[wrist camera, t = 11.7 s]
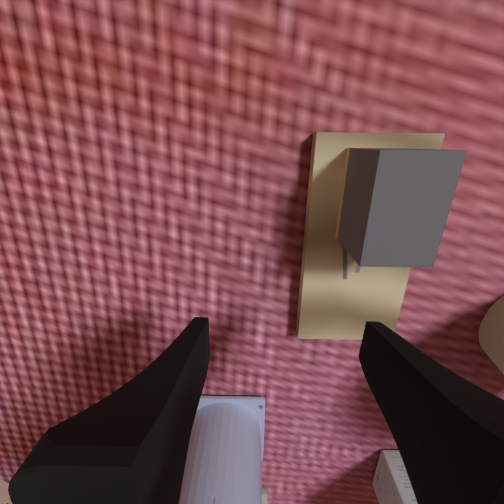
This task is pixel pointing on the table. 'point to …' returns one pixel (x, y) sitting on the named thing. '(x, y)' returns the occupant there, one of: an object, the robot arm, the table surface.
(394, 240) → the block
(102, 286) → the table surface
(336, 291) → the pine board
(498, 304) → the reusable coffee cup
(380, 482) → the small box
